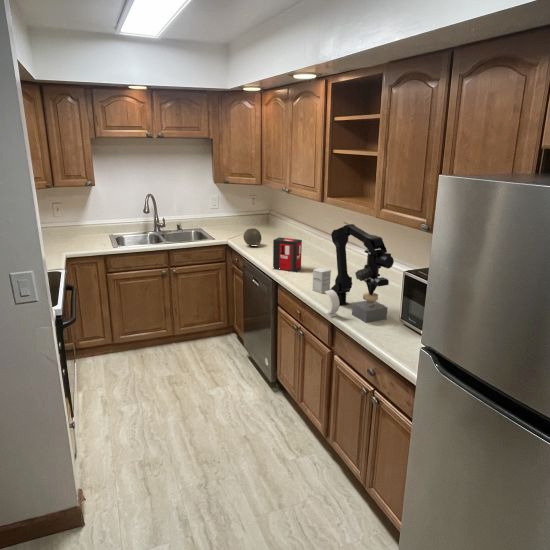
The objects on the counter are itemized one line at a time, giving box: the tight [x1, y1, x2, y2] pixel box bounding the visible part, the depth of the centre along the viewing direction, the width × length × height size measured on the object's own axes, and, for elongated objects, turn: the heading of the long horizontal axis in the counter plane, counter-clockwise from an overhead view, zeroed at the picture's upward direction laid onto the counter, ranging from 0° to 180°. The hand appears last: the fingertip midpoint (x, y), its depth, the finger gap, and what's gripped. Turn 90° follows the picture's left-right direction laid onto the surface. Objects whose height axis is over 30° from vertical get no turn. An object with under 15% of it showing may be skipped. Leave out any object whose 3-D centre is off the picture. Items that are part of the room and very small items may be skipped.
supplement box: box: [312, 267, 332, 294], centre depth 255 cm, size 7×7×13 cm
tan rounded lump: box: [362, 291, 379, 306], centre depth 217 cm, size 7×7×6 cm
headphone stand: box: [323, 289, 340, 318], centre depth 219 cm, size 5×6×12 cm
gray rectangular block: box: [351, 300, 388, 324], centre depth 219 cm, size 12×14×6 cm
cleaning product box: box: [272, 236, 303, 273], centre depth 296 cm, size 16×9×20 cm, turn 65°
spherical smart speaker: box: [242, 227, 262, 246], centre depth 358 cm, size 14×14×15 cm
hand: (370, 294), depth 216 cm, fingers closed
